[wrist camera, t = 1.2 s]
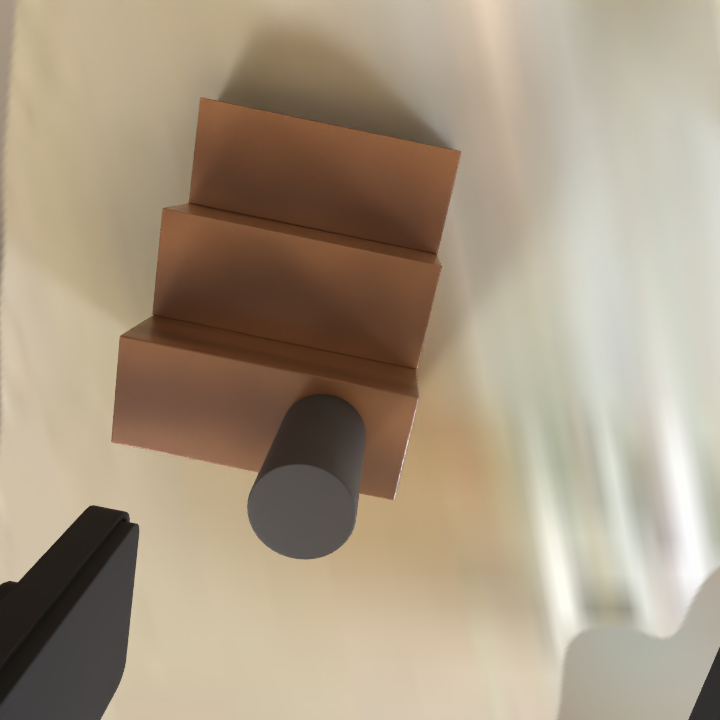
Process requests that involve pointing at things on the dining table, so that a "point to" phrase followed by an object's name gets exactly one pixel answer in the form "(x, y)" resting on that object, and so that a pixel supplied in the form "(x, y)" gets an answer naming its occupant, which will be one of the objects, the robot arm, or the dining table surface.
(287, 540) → the cylinder
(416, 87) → the dining table surface
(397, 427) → the step rack
